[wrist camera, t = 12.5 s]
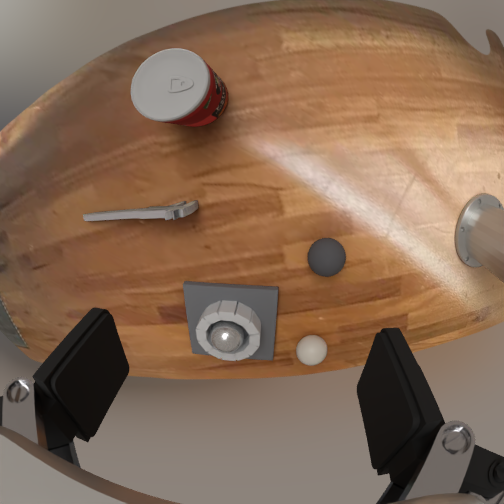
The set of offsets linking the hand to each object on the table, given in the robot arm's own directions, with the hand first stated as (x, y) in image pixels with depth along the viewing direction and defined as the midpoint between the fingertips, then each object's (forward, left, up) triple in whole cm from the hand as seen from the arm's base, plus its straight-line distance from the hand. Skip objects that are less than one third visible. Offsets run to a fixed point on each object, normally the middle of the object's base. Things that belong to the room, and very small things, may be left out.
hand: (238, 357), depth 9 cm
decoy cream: (-8, +23, -26) cm, 35 cm away
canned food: (+9, -13, -28) cm, 33 cm away
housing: (+5, +20, -28) cm, 35 cm away
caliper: (+19, +2, -29) cm, 35 cm away
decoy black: (-8, +7, -26) cm, 28 cm away
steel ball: (+5, +20, -25) cm, 32 cm away
